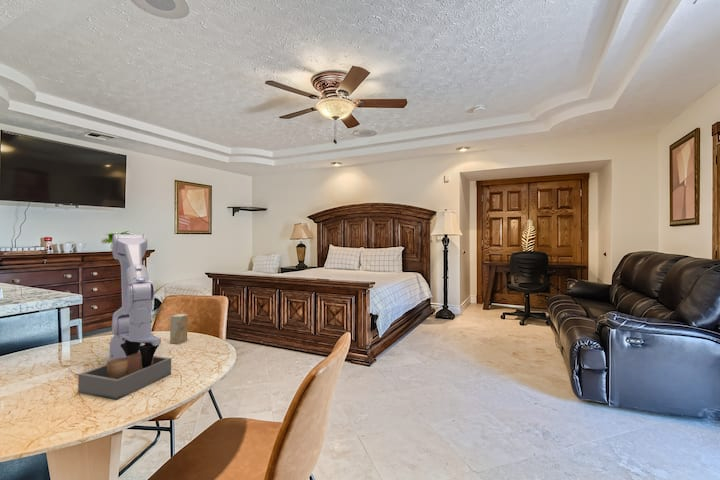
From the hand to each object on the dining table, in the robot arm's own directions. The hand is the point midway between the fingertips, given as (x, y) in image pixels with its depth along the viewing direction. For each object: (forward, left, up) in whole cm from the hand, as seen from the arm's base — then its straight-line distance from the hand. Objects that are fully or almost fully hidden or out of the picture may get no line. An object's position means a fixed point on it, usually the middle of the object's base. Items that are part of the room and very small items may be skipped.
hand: (139, 365), depth 106 cm
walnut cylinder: (0, -7, -3) cm, 8 cm away
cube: (0, 0, -2) cm, 2 cm away
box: (-16, +32, -4) cm, 36 cm away
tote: (0, -4, -3) cm, 5 cm away
